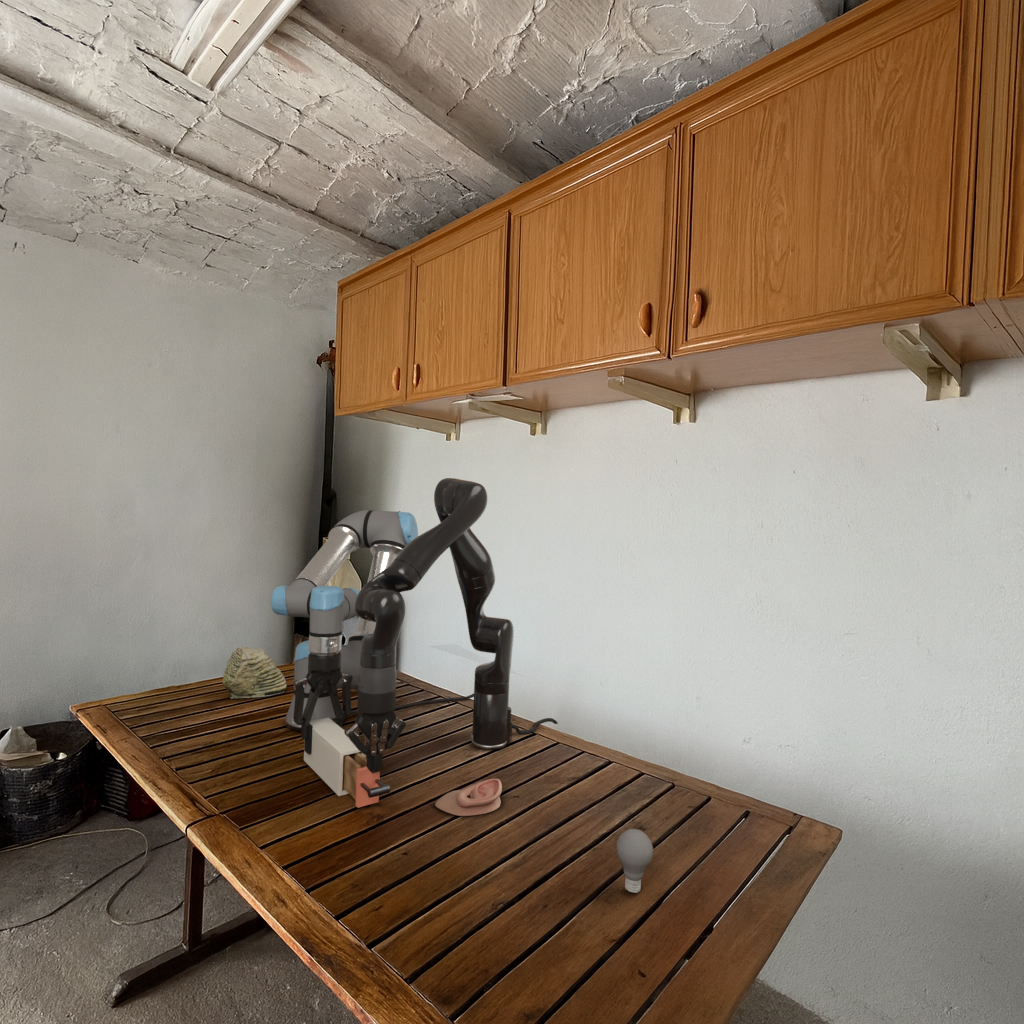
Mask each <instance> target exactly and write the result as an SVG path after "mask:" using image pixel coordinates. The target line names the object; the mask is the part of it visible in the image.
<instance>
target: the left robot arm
mask: <svg viewBox="0 0 1024 1024" xmlns="http://www.w3.org/2000/svg"><path fill="white" fill-rule="evenodd" d="M418 536H419V529H418V522H417V520H416V517H415V515H414V514H413V513H411V512H406V511H401V510H398V511H392V510H391V511H390V510H372V509H364V510H359V511H356V512H354V513H352V514H349V515H348V516H346V517H344V518H342V519H340V521H338V522H337V523H336V524H335V525H334V526H333V527H332V528H331V530H330V531H329V532H328V535H327V540H326V541H325V543H324V544H323V545H322V546H321V547H320V548H319V550H318V551H317V552H316V553H315V555H314V556H313V557H312V558H311V560H310V561H309V562H308V563H307V565H305V567H304V568H303V569H302V571H301V572H300V573H299V574H298V576H297V577H296V578H295V579H294V580H293V582H292V583H291V584H290V585H288V584H284V585H278V586H276V587H275V588H274V590H273V591H272V593H271V596H270V606H271V610H272V612H273V613H274V614H276V615H279V616H286V617H297V618H309V632H308V639H307V640H304V641H302V642H299V643H298V644H297V645H296V647H295V652H294V653H295V654H294V659H293V661H294V672H293V695H292V696H293V697H292V699H291V702H290V704H289V708H288V711H287V713H286V715H285V726H286V728H287V729H289V730H291V731H294V732H295V731H296V732H301V733H300V737H301V739H302V740H304V741H305V745H304V744H303V746H304V747H303V752H304V751H305V752H306V753H307V754H312V728H313V726H312V725H311V724H310V721H313V720H318V719H324V718H330V719H331V720H332V721H333V722H335V723H336V724H337V725H338V726H340V727H341V728H342V729H343V728H344V727H343V726H344V721H345V720H346V717H350V716H351V715H352V714H353V715H358V710H352V690H356V691H358V677H359V670H360V653H361V641H362V639H363V637H364V636H366V635H368V634H371V633H374V630H375V625H376V622H372V621H367V620H364V619H362V618H360V617H359V616H358V615H357V613H356V611H355V600H356V597H357V595H358V593H359V592H360V590H358V589H356V588H354V587H344V588H343V587H341V586H336V585H328V584H329V583H330V581H331V580H332V579H333V577H334V576H335V575H336V573H337V572H338V571H339V570H340V568H341V567H342V565H343V564H344V563H345V561H346V560H347V558H348V557H349V556H350V555H352V554H354V553H355V552H357V551H358V550H359V549H366V548H367V549H369V552H370V553H371V555H372V561H371V566H370V569H369V574H368V578H367V583H368V582H369V581H370V580H372V579H373V578H374V577H375V576H377V575H378V574H379V573H380V572H382V571H383V570H385V569H386V568H388V567H389V566H390V565H391V563H392V562H393V561H394V559H395V558H396V557H397V556H398V554H399V553H400V552H401V551H402V549H403V548H404V547H405V546H406V545H407V544H408V543H409V542H411V541H412V540H413V539H415V538H416V537H418ZM367 583H366V584H367ZM356 616H358V617H359V618H358V622H357V626H356V631H355V633H353V634H351V635H350V636H348V641H347V644H343V624H344V623H343V622H345V621H348V620H350V619H351V620H352V619H353V618H355V617H356ZM338 689H341V701H340V697H339V693H338V692H339V691H338ZM472 698H474V693H472V694H469V695H467V696H459V697H447V698H446V697H445V698H437V699H427V700H421V701H416V702H411V703H405V704H402V705H397V706H395V711H396V710H401V709H404V708H410V707H414V706H420V705H427V704H434V703H443V702H452V701H453V702H454V701H464V700H470V699H472ZM343 730H344V729H343Z"/></svg>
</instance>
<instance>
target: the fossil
mask: <svg viewBox="0 0 1024 1024" xmlns="http://www.w3.org/2000/svg"><path fill="white" fill-rule="evenodd" d="M222 676H223V677H222V685H223V687H224V688H225V690H226V691H228V693H229V698H230V699H250V698H264V697H271V696H275V695H281V694H284V693H285V691H286V689H287V687H288V686H287V680H286V678H285V676H284V674H283V673H282V672H281V669H279V668H278V667H277V665H276V663H275V662H274V660H273V659H272V658H271V657H270V656H269V655H268V654H267V653H266V652H265V650H264V649H263V648H260V647H258V648H251V647H247V646H246V647H245V646H238V647H237V648H236V649H235V650H233V651H232V653H231V656H230V657H229V659H228V660H227V663H226V666H225V668H224V671H223V675H222Z"/></svg>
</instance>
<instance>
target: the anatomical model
mask: <svg viewBox="0 0 1024 1024" xmlns="http://www.w3.org/2000/svg"><path fill="white" fill-rule="evenodd" d="M502 791H503V784H502V780H500V779H499V778H491V779H490V778H489V779H485V780H483V781H480V782H477V783H474V784H471V785H470V786H467V787H465V788H463V789H457V790H452V791H449V792H447V793H446V794H443V795H442V796H441V797H440V798H438V799H436V801H435V802H434V807H436V808H437V809H439V810H441V811H443V812H445V813H447V814H451V815H453V816H458V817H469V816H479V815H484V814H487V813H491V812H494V811H496V810H497V809H499V808H500V807H501V803H502V801H501V800H502V799H501V797H500V796H501V794H502Z"/></svg>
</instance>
